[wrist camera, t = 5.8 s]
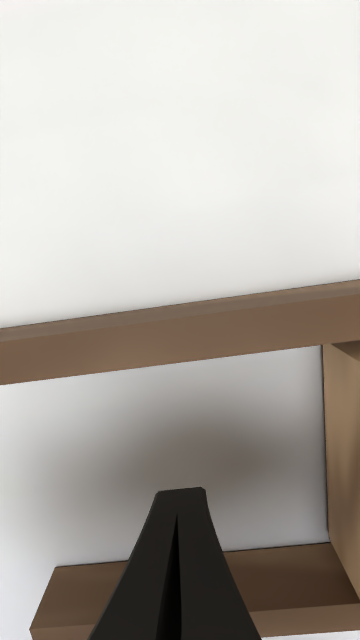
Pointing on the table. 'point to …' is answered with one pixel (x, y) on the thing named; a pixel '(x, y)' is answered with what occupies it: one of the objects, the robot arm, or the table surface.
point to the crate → (343, 452)
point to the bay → (183, 346)
